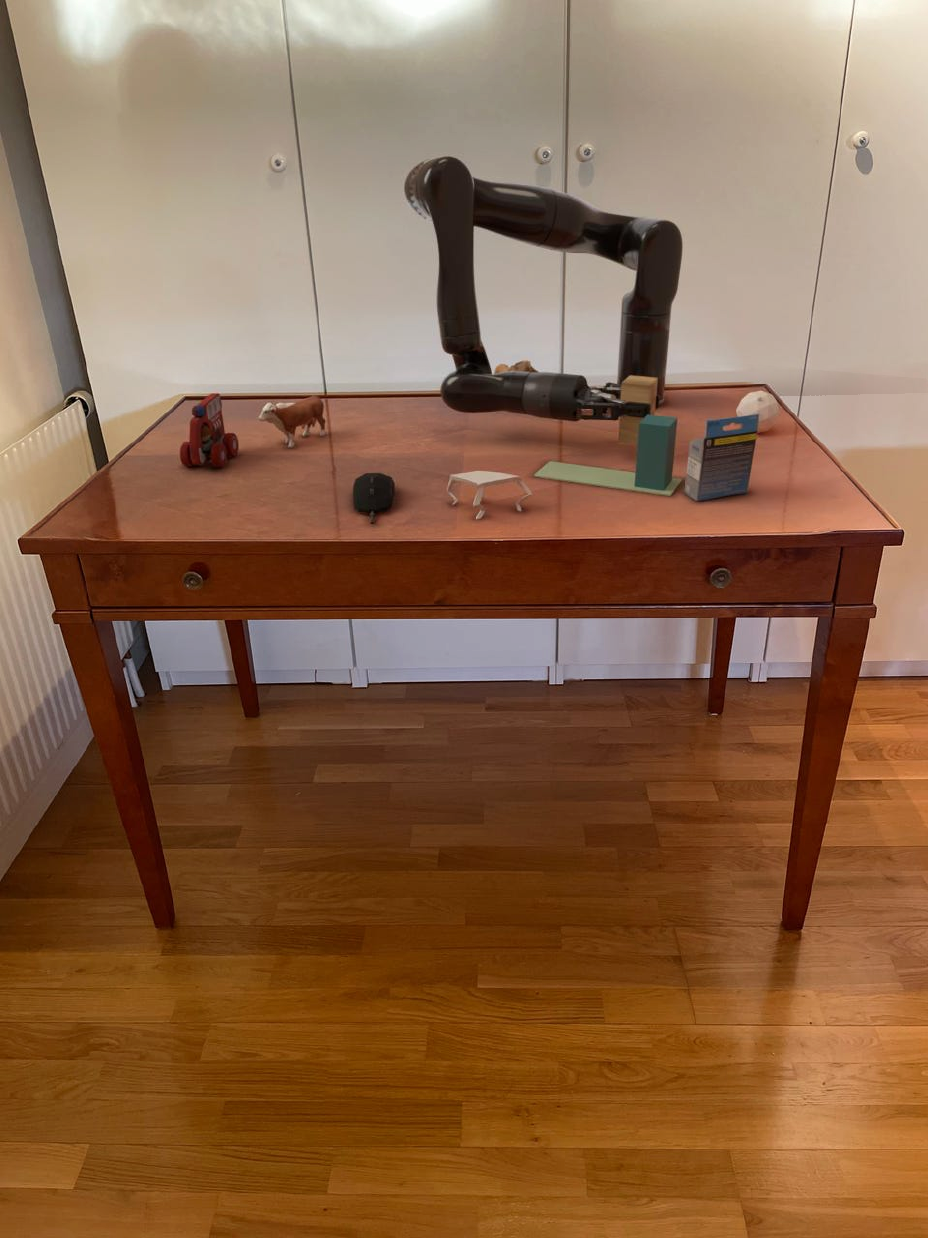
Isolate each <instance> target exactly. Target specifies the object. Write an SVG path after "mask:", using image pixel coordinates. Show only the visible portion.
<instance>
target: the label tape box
mask: <svg viewBox="0 0 928 1238" xmlns="http://www.w3.org/2000/svg"><path fill="white" fill-rule="evenodd" d="M758 420H759V414H754V415H746V416H738V417H737V416H729V417H723V418H714V419H706V420H705V430H704V431H705V433H704V437H702V438H696V439H692V440H690V441H689V447H688V457H687V465H686V473H685V480H684V481H685V482H684V488H683V489H684V490H683V492H684V494H686V495H687V496H688V497H690V498H691V499H692V500H694V501H695V502H701V501H709V500H713V499H719V498H725V497H731V496H736V495H741V494H747V493H748V491H749V485H750V478H751V473H752V467H753V462H754V456H755V450H756V442H757V438H758V433H757V428H758ZM732 424H733V425H734V426H740V427H739V428H733V429H724V427H729V426H731V425H732Z"/></svg>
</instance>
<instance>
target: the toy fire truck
mask: <svg viewBox="0 0 928 1238" xmlns="http://www.w3.org/2000/svg"><path fill="white" fill-rule="evenodd" d="M222 409H223V403H222V397H221V394H220V393H219V392H217V393H215V392H213V393H210V394H208V395H207V396H206V397H205V398H204V399H202V400H201V401H200V402H199V403H198V404H197V405H194V406H193V407H192V408H191V415H192V416H193V417H192V418H191V419H190V421H189V436H188V437H189V439H188V441H183V442H182V443H181V445H180V448H179V458H180V459H179V460H180V462H181V464H182V465H183V466H184V467H194V466H203V465H205V464H206V463H209V462H211V465H212V466H213V467H215V468H224V467H225V466H226V464H227V462H228V461H227V460H228V458H234V457H236V456H237V454H238V452H239V446H240V445H239V439H238V436H237V434H236V433H234V432H226V431H225V423H224V418H223V411H222Z"/></svg>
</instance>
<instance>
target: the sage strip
mask: <svg viewBox="0 0 928 1238" xmlns="http://www.w3.org/2000/svg"><path fill="white" fill-rule="evenodd" d="M533 478H538V479H544V480H545V479H547V480H554V481H559V482H560V481H561V482H568V483H575V484H579V485H580V484H581V485H587V486H588V485H589V486H593V487H594V486H595V487H600V488H601V487H603V488H609V489H614V490H615V489H616V490H621V491H630V492H637V493H643V494H650V495H658V496H664V497H672V495H673V494H674V492H675V491H676V490H677V488H678V487H679V486H680V484H681V483H682V482H683V478H678V477H672V481H671V482H670V483H669V485H668V486H667V487H666V489H665V490H664V491H662V490H655V489H648V488H641V487H635V472H634V471H626V470H620V469H611V468H605V467H598V466H597V467H596V466H588V465H581V464H574V463H567V462H560V461H559V462H558V461H553V460H550V461H548V462H547V463H546V464H545V465H544V466H543V467H541V468H540V469H539V470H538V471H537V472H536V473H534V474H533Z"/></svg>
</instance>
